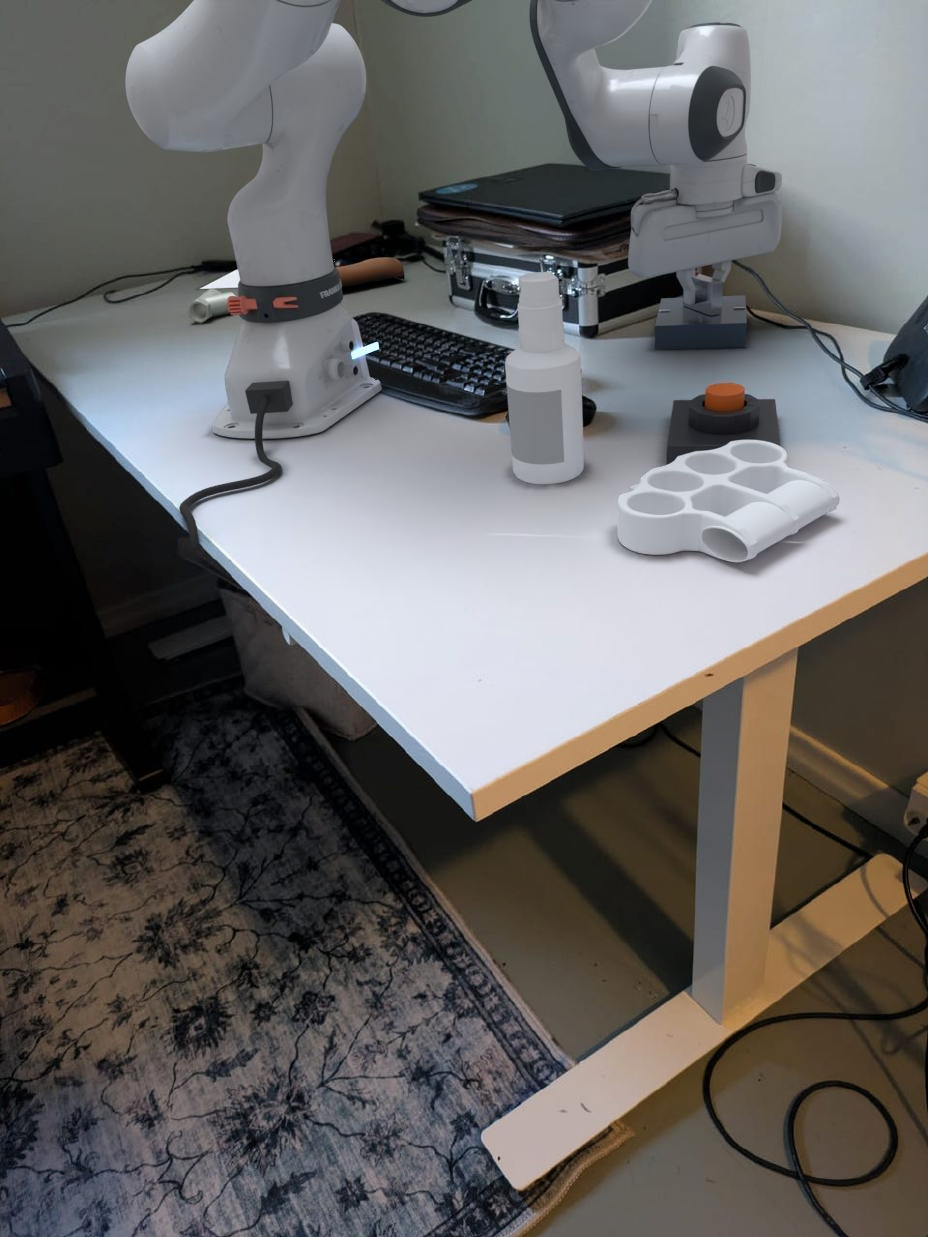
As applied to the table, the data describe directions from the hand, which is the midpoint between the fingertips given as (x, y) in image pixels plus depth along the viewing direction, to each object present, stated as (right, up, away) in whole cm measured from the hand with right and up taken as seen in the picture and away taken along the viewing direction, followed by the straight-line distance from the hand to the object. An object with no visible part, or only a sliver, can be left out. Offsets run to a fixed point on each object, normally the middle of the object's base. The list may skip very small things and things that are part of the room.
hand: (702, 300), depth 117 cm
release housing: (-5, -24, -28) cm, 37 cm away
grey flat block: (0, -3, +2) cm, 4 cm away
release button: (-6, -21, -30) cm, 37 cm away
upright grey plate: (0, -1, +1) cm, 1 cm away
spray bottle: (-22, -27, -29) cm, 46 cm away
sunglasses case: (-51, +18, +45) cm, 70 cm away
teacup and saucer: (-69, +26, +61) cm, 96 cm away
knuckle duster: (-9, -32, -40) cm, 53 cm away
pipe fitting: (-72, +10, +36) cm, 81 cm away
